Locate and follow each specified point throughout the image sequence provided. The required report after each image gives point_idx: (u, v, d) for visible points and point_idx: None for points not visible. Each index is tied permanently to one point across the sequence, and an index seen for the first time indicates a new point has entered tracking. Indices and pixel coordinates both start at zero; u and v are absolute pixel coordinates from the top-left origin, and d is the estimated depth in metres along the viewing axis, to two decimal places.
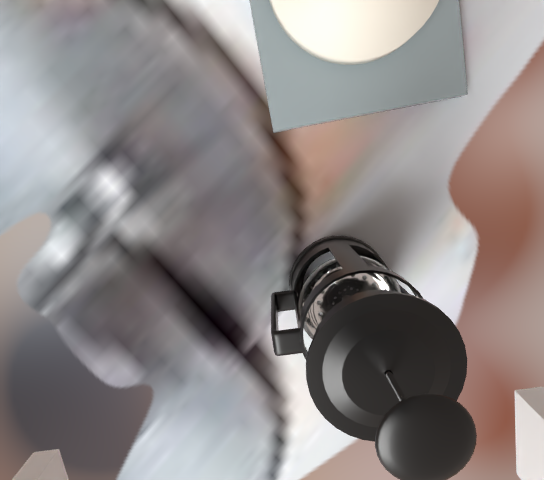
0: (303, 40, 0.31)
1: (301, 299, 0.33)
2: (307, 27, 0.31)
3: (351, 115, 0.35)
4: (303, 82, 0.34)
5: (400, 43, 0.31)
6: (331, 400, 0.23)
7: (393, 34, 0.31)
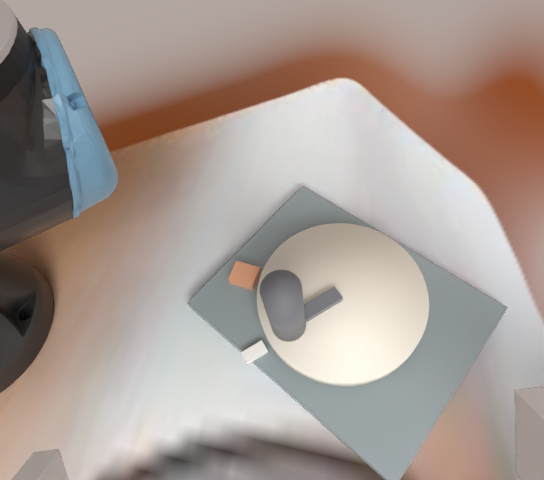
0: (353, 380, 0.30)
1: None
2: (347, 368, 0.30)
3: (444, 405, 0.30)
4: (378, 413, 0.31)
5: (426, 318, 0.31)
6: None
7: (414, 316, 0.32)
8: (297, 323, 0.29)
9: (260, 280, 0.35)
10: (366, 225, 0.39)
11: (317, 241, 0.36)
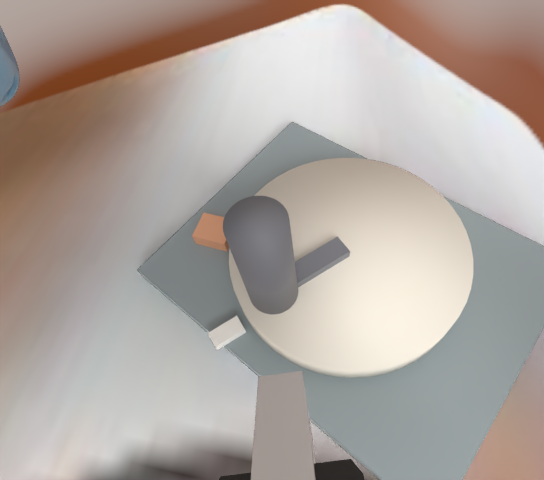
0: (369, 367, 0.20)
1: None
2: (359, 349, 0.20)
3: (502, 401, 0.21)
4: (406, 414, 0.21)
5: (471, 276, 0.22)
6: None
7: (454, 275, 0.22)
8: (284, 283, 0.19)
9: None
10: None
11: (312, 181, 0.26)
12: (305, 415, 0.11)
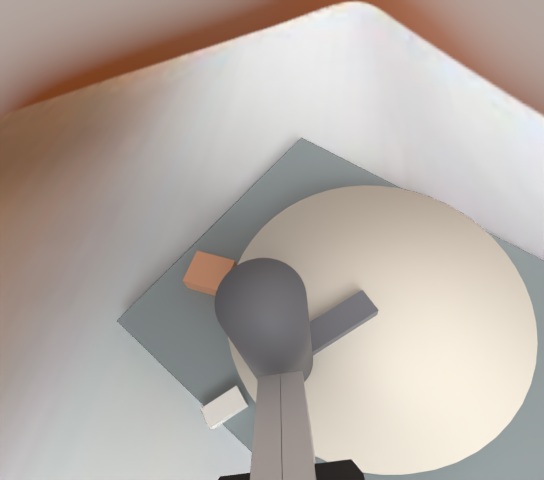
0: (407, 473, 0.15)
1: None
2: (393, 446, 0.16)
3: None
4: None
5: (535, 347, 0.17)
6: None
7: (512, 344, 0.17)
8: (297, 365, 0.15)
9: None
10: None
11: (328, 214, 0.22)
12: (306, 415, 0.11)
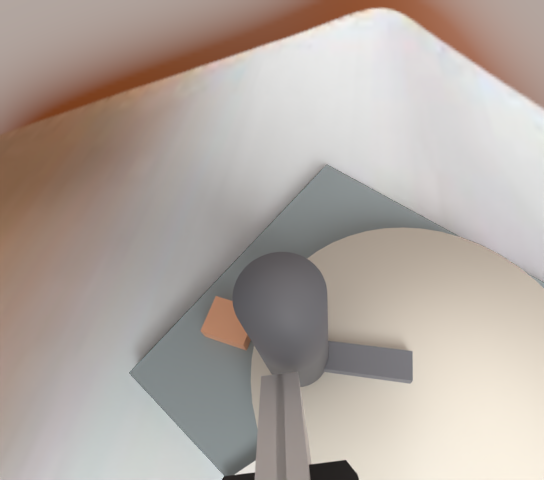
0: None
1: None
2: None
3: None
4: None
5: None
6: None
7: None
8: (289, 370, 0.14)
9: (308, 260, 0.20)
10: (440, 229, 0.23)
11: (439, 259, 0.19)
12: (301, 416, 0.11)
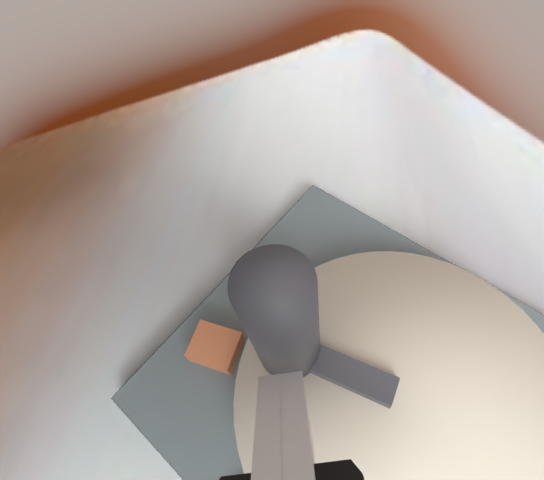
0: None
1: None
2: None
3: None
4: None
5: None
6: None
7: None
8: (271, 359, 0.15)
9: (326, 264, 0.20)
10: (425, 251, 0.23)
11: (456, 297, 0.19)
12: (305, 415, 0.11)
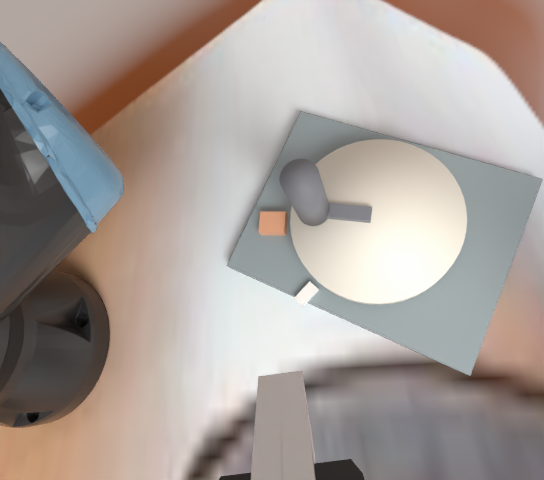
0: (324, 285, 0.32)
1: None
2: (327, 273, 0.33)
3: (499, 291, 0.31)
4: (439, 316, 0.32)
5: (424, 288, 0.30)
6: None
7: (416, 279, 0.31)
8: (307, 213, 0.31)
9: (321, 160, 0.35)
10: (378, 135, 0.37)
11: (395, 158, 0.34)
12: (305, 415, 0.11)
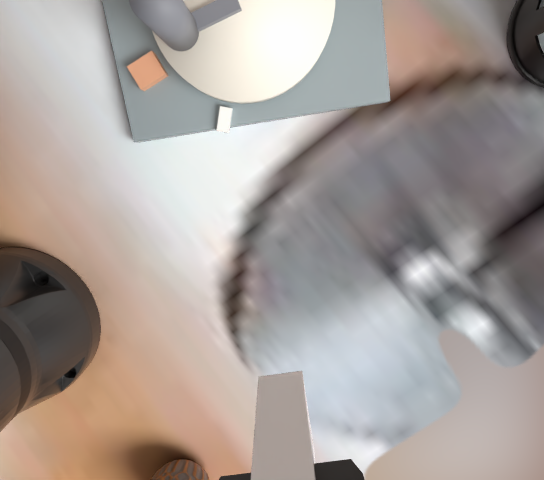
0: (237, 100, 0.31)
1: None
2: (233, 87, 0.31)
3: (381, 10, 0.32)
4: (344, 66, 0.33)
5: (323, 46, 0.30)
6: None
7: (312, 42, 0.30)
8: (180, 36, 0.27)
9: None
10: None
11: None
12: (305, 415, 0.11)
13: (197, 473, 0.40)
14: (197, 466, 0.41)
